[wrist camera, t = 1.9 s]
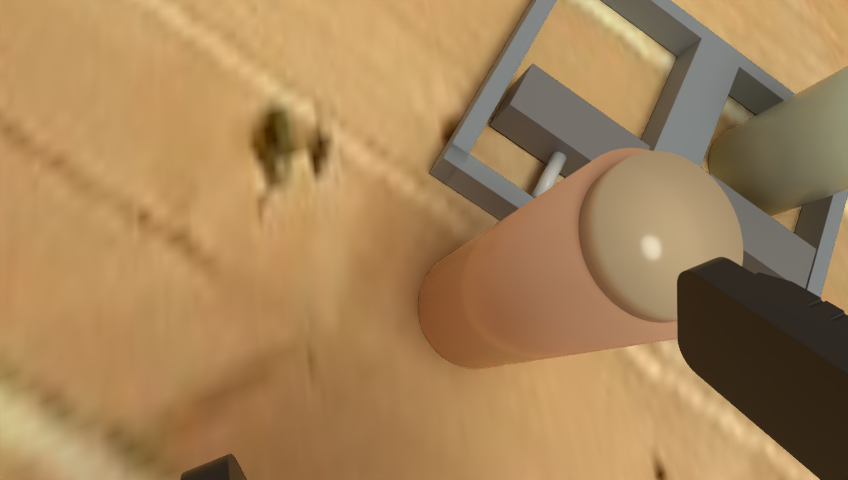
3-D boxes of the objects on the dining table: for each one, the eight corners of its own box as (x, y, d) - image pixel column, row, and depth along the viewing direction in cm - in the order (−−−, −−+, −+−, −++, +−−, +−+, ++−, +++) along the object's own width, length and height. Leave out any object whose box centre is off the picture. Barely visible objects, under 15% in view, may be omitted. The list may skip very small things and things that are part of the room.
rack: (429, 173, 33) (446, 154, 31) (559, -46, 40) (581, -75, 37) (762, 393, 36) (801, 392, 34) (830, 156, 43) (867, 141, 41)
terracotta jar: (396, 329, 30) (549, 261, 17) (451, 229, 33) (626, 97, 19) (498, 391, 31) (723, 376, 17) (545, 290, 33) (777, 206, 20)
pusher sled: (465, 166, 34) (485, 147, 31) (511, 86, 36) (532, 63, 34) (585, 246, 35) (612, 234, 32) (622, 163, 37) (650, 146, 35)
